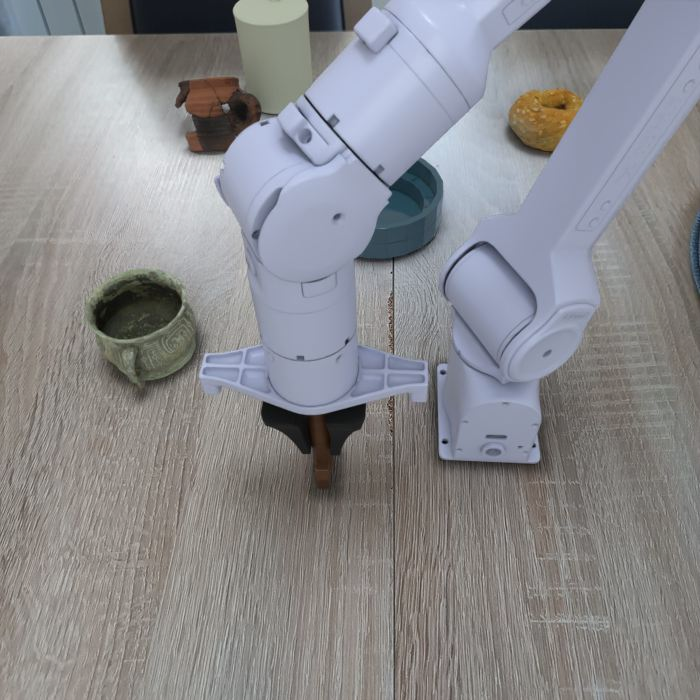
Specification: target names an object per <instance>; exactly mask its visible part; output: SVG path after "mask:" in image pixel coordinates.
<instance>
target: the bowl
mask: <svg viewBox="0 0 700 700" xmlns="http://www.w3.org/2000/svg"><path fill="white" fill-rule="evenodd" d="M388 186H389V185H388ZM389 190H390V191H391V192H392V195H391V197H390V198H389V199H388V201H389V203H388V204H387V205H386V206H385V207H384V208H383V210H382V211H381V212H380V214H379V216H378V218H377V223H376V227H375V230H374V233H373V236H372V238H371V240H370V242H369V243H368V245H367V247H366V248H365V250H364V251H363V252H362V253H361V254H360V255H359V256H358V257H359V258H363V259H379V260H381V259H383V260H386V259H392V258H396V257H402V256H406V255H408V254H411V253H412V252H415V251H416V250H417V251H418V250H419V249H421V248H423V247H424V246H425V245H426V244H428V243H429V242H431V240H432V239H434V237H435V236H436V234H437V232H438V230H439V228H440V225H441V220H442V213H443V212H442V210H443V201H444V181H443V178H442V176H441V174H440V173H439V171H438V170H437V168H436V167H435V166H433V165H432V164H431V163H430V162H429V161H427V160H426V159H425V158H422V156H421V157H420V158H419V159H418V160H417V161H416V162H415V163H414V164H413V165H412V166H411V167H410V168H409V169H408V170H407V171H406V172H405V173H404V174H403V175H402V176H401V177H400V178H399V179H398V180H397V181H396V182H395V183H393V184H392V185H391V186H389Z"/></svg>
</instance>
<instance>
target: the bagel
mask: <svg viewBox="0 0 700 700" xmlns="http://www.w3.org/2000/svg"><path fill="white" fill-rule="evenodd" d="M584 101H585V99H584V100H583V99H582V98H581V97H580V96H579V95H578V94H577V93H574V92H573V91H571V90H568V89H564V88H560V87H558V88H556V89H552V88H550V89H546V90H537V89H531V90H529V91H527V92H525V93H523V94H522V95H520V96H519V97H517V98H516V100H515V101H514V103H513V104H512V105H511V107H510V109H509V111H508V114H507V118H508V123H509V125H510V128H511V129H512V131H513V132H514V133H515V134H516V136H517V137H518V138H519V140H521V143H523V144H524V145H526V146H528V147H530V148H533V149H538V150H540V151H543V152H554V150H555V148H556V147H557V145H558V143H559V142H560V140H561V139H562V137H563V135H564V134H565V132H566V130H567V129H568V127H569V125H570V124H571V122H572V120H573V119H574V117H575V115H576V114H577V112H578V110H579V109H580V107H581V105H582V104H583V102H584Z"/></svg>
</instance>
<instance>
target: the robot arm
mask: <svg viewBox="0 0 700 700" xmlns="http://www.w3.org/2000/svg"><path fill="white" fill-rule="evenodd" d="M551 1H552V0H389V1H388V2H387V4H385V5H384V7H383V8H382V9H379V8H378V7H377V6H372V7H371V8H370V9H369V10H368V11H367V12H366V13H365V14H364V15H363V16H362V17H361V18H360V20H358V21H357V23H356V24H355V25H354V26H353V32H354V34H355V35H356V37H354V39H352V40H351V42H350V43H349V44H348V45H347V46H346V47H344V49H343V50H342V51H341V52H340V53H339V54H338V56H336V58H335V59H334V60H333V61H332V62H331V63H330V64H329V65H328V66H327V67H326V68H325V69H324V70H323V71H322V72H321V73H320V75H318V77H317V78H315V80H313V83H312V84H311V85H310V87H309V88H308V89H307V90H306V91H305V95H304V94H302V95H301V96H300V97H299V98H298V99H297V100H296V102H295V103H294V104H293V103H292V102H290V103H289V104H288V105H287V106H286V107H285V108H284V109H283V111H282V112H281V113H280V114H277V116H274V117H269V118H266V119H263V120H261V119H260V121H259V122H256V123H254V124H252V125H250V126H249V127H247V128H246V129H245V130H243V131H242V132H241V133H240V134H239V135H238V134H237V136H235V140H234V141H233V143H232V144H231V145H230V147H229V148H228V150H226V152H225V153H224V156H223V158H222V163H223V165H224V168H220V169H219V175H217V176H215V178H214V180H213V182H214V185H215V188H216V191H217V193H218V194H219V196H220V198H221V199H222V200H223V202H224V203H225V205H226V206H227V207H228V208H229V209H230V210H231V212H232V214H233V216H234V217H235V219H236V222H237V223H238V225H239V226H240V233H241V238H242V243H243V248H244V258H245V262H246V265H247V266H246V267H247V269H246V271H247V273H246V274H247V281H248V285H249V289H250V294H251V299H252V305H253V309H254V313H255V318H256V319H255V320H256V323H257V329H258V332H259V336H260V342H261V343H260V344H255V345H251V346H247V347H243V348H239V349H235V350H229V351H224V352H223V351H222V352H209V353H208V352H205V353H203V358H202V361H201V365H200V369H199V372H198V380H199V383H200V385H201V389H202V391H203V394H204V395H214V396H215V395H220V393H222V389H223V388H226V389H229V390H230V391H231V390H232V391H234V392H237V393H240V394H243V395H245V396H248V397H251V398H253V399H256V400H259V401H262V404H261V409H260V417H261V420H262V422H263V424H264V426H265V427H269V428H272V429H274V430H276V431H279V432H280V433H282V434H284V436H286V437H287V438H288V439H290V441H291V442H292V443H293V444H294V445H295V447H297V449H298V450H299V451H300V454H302V455H307V456H309V455H312V445H311V438H310V432H309V425H308V418H307V415H320V414H325V413H327V419H326V428H327V429H328V431H329V434H330V439H331V443H330V454H331V456H334V457H339V456H341V455H342V449H343V446H344V444H345V443H346V441H347V440H348V439H349V437H350V436H351V435H352V434H353V433H354V432H357V431H360V430H361V429H362V427H363V425H364V423H365V420H366V414H367V403H371V402H376V401H378V400H379V401H380V400H383V399H386V398H387V399H388V398H390V397H394V396H398V395H402V394H408V395H409V396H408V397H409V401H410V402H413V403H427V400H428V391H429V361H428V360H423V359H413V358H407V357H403V356H401V355H400V356H399V355H396V354H394V353H390V352H388V351H385V350H381V349H378V348H375V347H371V346H368V345H365V344H362V343H359V342H358V320H357V318H358V317H357V291H356V290H357V288H356V263H355V259H357V258H358V257H359V255H360V254H361V253H362V252H363V251H364V250H365V248H366V247H367V245H368V243H369V242H370V240H371V238H372V236H373V233H374V230H375V227H376V223H377V218H378V216H379V214H380V212H381V211H382V210H383V208H384V207H385V206H386V205H387V204H388V203H389V201H388V199H389V198H390V197H391V195H392V192H391V191H390V190H389V186H391V185H392V184H393V183H395V182H396V181H397V180H398V179H399V178H400V177H401V176H402V175H403V174H404V173H405V172H406V171H407V170H408V169H409V168H410V167H411V166H412V165H413V164H414V163H415V162H416V161H417V160H418V159H419V158H420V157H421V158H422V157H423V156H424V155H425V154H426V153H427V152H428V151H429V150H430V149H431V148H432V147H433V146H434V145H435V144H436V143H437V142H438V141H439V140H440V139H441V138H443V136H445V135H446V134H447V132H449V131H450V130H451V129H452V128H453V127H454V126H455V125H457V123H458V122H459V121H460V120H461V119H462V118H463V117H464V116H466V115H467V114H468V113H469V112H470V110H471V109H472V108H473V107H475V106H476V104H478V103H479V102H480V101H481V100H482V99H483V98H484V96H485V92H486V90H487V89H486V88H487V80H488V72H489V65H490V60H491V56H492V53H493V51H494V50H495V49H497V48H498V47H500V45H501V44H503V43H504V42H505V41H507V39H508V38H510V37H511V36H512V35H513V34H514V33H515V32H516V31H518V30H519V29H520V28H521V27H523V25H524V24H526V23H527V22H528V21H530V19H532V18H533V17H534V16H535V15H537V14H538V13H539V12H540V11H541V10H542V9H544V8H545V6H547V5H548V4H549V3H550V2H551ZM699 100H700V0H644V2H643V3H642V5H641V6H640V8H639V9H638V11H637V13H636V14H635V16H634V18H633V19H632V20H631V22H630V24H629V26H628V28H627V29H626V31H625V32H624V34H623V36H622V38H621V39H620V41H619V43H618V44H617V46H616V48H615V49H614V51H613V53H612V54H611V56H610V57H609V59H608V61H607V62H606V64H605V66H604V67H603V68H602V71H601V73H600V74H599V75H598V77H597V79H596V81H595V83H594V84H593V85H592V88H590V91H589V92H588V94H587V95H586V97H585V99H584V102H583V104H582V105H581V107H580V109H579V110H578V112H577V114H576V115H575V117H574V119H573V120H572V122H571V124H570V125H569V127H568V129H567V130H566V132H565V134H564V135H563V137H562V139H561V140H560V142H559V143H558V145H557V147H556V148H555V150H554V151H552V153H551V155H550V156H549V158H548V160H547V162H546V163H545V165H544V167H543V168H542V170H541V171H540V174H539V175H538V176H537V178H536V180H535V182H534V183H533V184H532V186H531V188H530V190H529V191H528V192H527V195H526V196H525V198H524V200H523V201H522V203H521V205H520V206H519V208H518V209H517V211H516V212H515V213H514V212H512V213H501V214H494V215H490V216H486V217H483V218H480V219H479V221H478V223H477V225H476V227H475V228H474V229H473V232H472V233H471V235H470V236H469V237H468V238H467V239H466V240H465V242H463V244H461V245H460V246H459V247H458V248H456V249H455V251H454V252H453V253H452V254H451V255H450V256H449V257H448V259H446V262H445V263H444V265H443V267H442V269H441V271H440V273H439V277H438V283H437V284H438V290H439V292H440V294H441V296H442V297H443V298H444V299H445V300H446V301H447V302H450V304H451V307H450V308H451V309H450V317H451V319H452V323H453V325H452V331H451V339H450V346H449V352H448V358H447V363H439V364H438V365H437V367H436V392H437V431H438V432H437V434H438V435H437V437H438V438H437V439H438V456H439V458H440V459H441V460H444V461H466V462H485V463H486V462H487V463H506V464H507V463H510V464H511V463H512V464H533V465H534V464H538V463H539V462H540V460H541V450H540V443H539V437H538V433H539V430H540V427H541V424H542V409H541V408H542V407H541V402H540V401H541V399H540V383H541V379H542V378H544V377H546V376H548V375H550V374H551V373H554V372H555V371H556V370H558V369H559V368H560V367H562V366H563V365H564V364H565V363H566V362H567V361H569V359H570V358H571V357H572V356H573V355H574V354H575V352H576V351H577V350H578V348H579V346H580V344H581V342H582V338H583V336H584V333H585V330H586V327H587V325H588V324H589V322H590V320H591V318H592V317H593V316H594V314H595V312H596V311H597V309H598V308H599V307H600V306H601V302H602V300H601V293H600V288H599V284H598V280H597V279H598V278H597V274H596V269H595V266H594V261H593V254H592V250H593V248H594V247H595V246H596V244H597V243H598V242H599V240H600V239H601V237H602V236H603V234H604V233H605V231H606V230H607V228H608V227H609V226H610V224H611V223H612V222H613V220H614V219H615V218H616V216H617V215H618V213H619V212H620V211H621V209H622V208H623V207H624V205H625V204H626V202H627V201H628V199H629V198H630V197H631V195H632V194H633V192H634V191H635V190H636V188H637V187H638V185H640V183H641V181H642V180H643V178H644V177H645V176H646V175H647V173H648V171H650V169H651V167H653V165H654V163H655V161H657V159H658V158H659V156H660V155H661V153H662V152H663V151H664V150H665V147H666V146H667V145H668V144H669V142H670V141H671V139H672V138H673V137H674V135H675V134H676V133H677V131H678V130H679V129H680V127H681V126H682V125H683V123H684V121H685V120H686V119H687V117H688V116H689V114H690V113H691V112H692V110H693V109H694V107H695V106H696V105H697V103H698V102H699ZM388 185H389V186H388ZM443 442H446V443H443ZM533 446H534V447H533Z"/></svg>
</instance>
